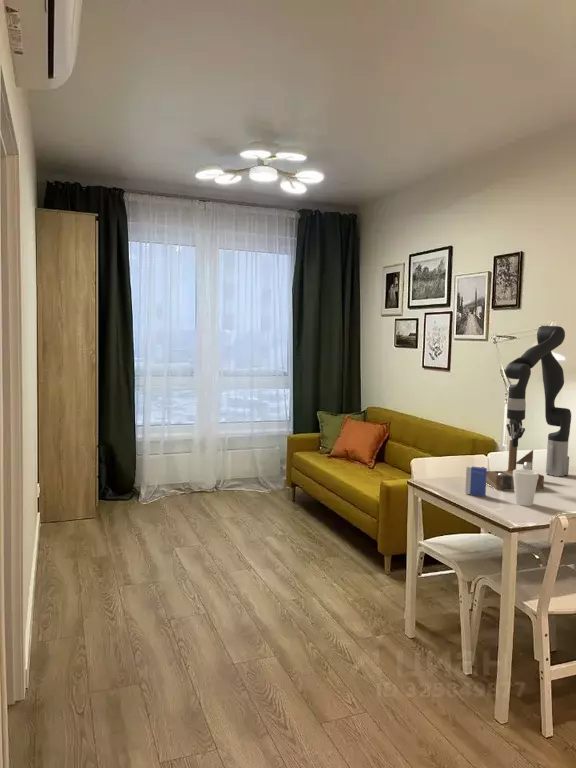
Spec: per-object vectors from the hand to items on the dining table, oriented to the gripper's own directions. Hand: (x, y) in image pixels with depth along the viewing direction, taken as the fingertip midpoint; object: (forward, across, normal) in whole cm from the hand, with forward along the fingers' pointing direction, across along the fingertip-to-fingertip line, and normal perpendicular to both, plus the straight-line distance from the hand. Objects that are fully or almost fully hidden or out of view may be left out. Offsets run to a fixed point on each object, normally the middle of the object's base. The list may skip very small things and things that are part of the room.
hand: (514, 446), depth 262 cm
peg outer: (+18, -1, +6) cm, 19 cm away
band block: (+18, -1, 0) cm, 18 cm away
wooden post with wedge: (+19, +15, -11) cm, 26 cm away
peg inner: (+13, -1, -6) cm, 14 cm away
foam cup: (+18, -28, +10) cm, 35 cm away
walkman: (+18, -14, +24) cm, 33 cm away
